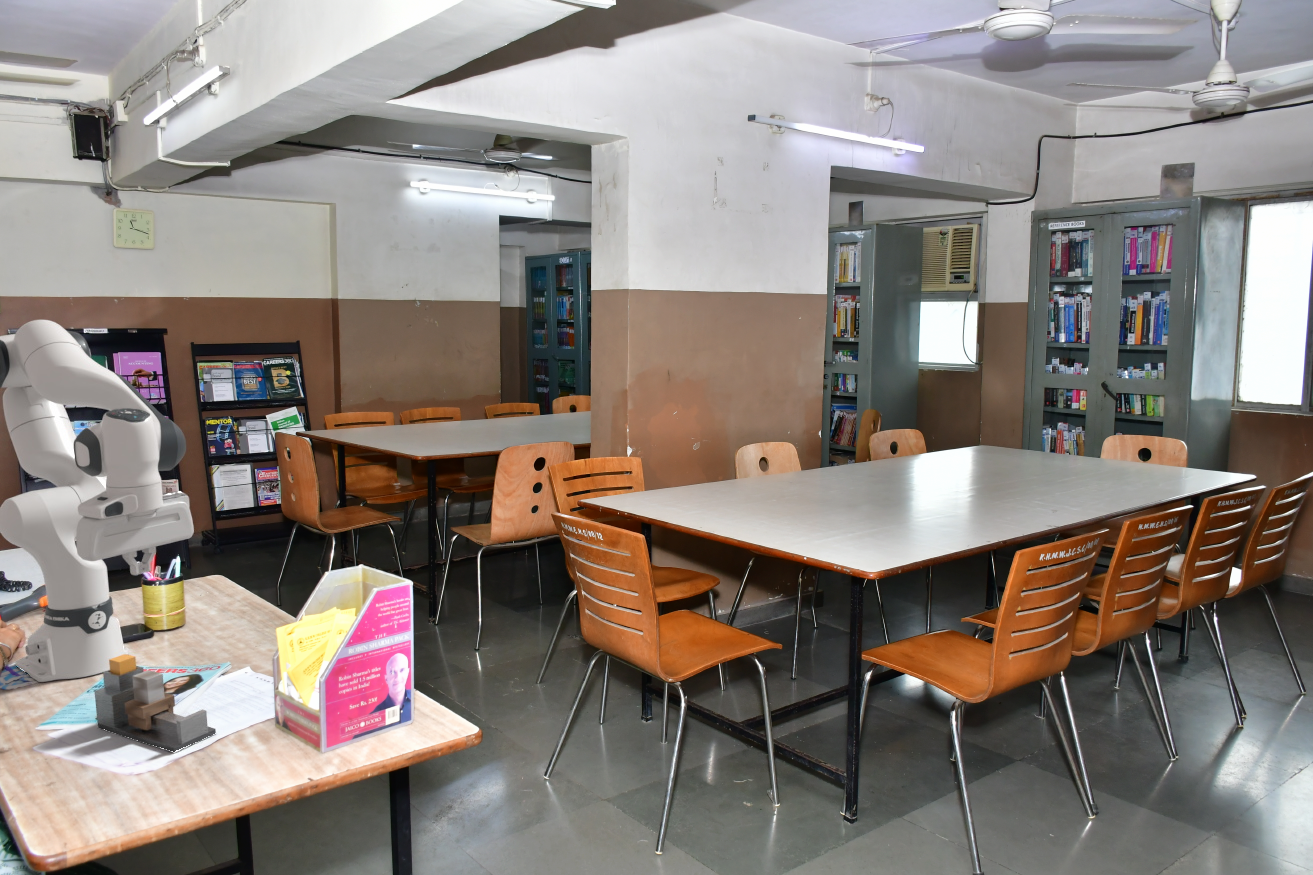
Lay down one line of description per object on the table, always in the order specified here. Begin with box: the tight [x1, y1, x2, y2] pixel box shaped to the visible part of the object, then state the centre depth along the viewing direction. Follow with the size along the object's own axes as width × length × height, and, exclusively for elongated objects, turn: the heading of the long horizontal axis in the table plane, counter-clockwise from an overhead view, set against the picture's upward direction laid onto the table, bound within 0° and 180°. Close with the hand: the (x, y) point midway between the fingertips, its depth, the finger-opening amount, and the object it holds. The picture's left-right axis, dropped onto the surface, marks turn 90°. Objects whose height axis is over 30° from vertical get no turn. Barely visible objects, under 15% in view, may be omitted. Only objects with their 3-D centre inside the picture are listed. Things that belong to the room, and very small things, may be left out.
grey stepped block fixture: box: [94, 665, 217, 752], centre depth 165 cm, size 21×8×10 cm, turn 62°
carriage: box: [125, 669, 176, 730], centre depth 166 cm, size 5×6×9 cm
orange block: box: [109, 654, 137, 675], centre depth 169 cm, size 3×3×5 cm
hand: (141, 572), depth 170 cm, fingers closed
